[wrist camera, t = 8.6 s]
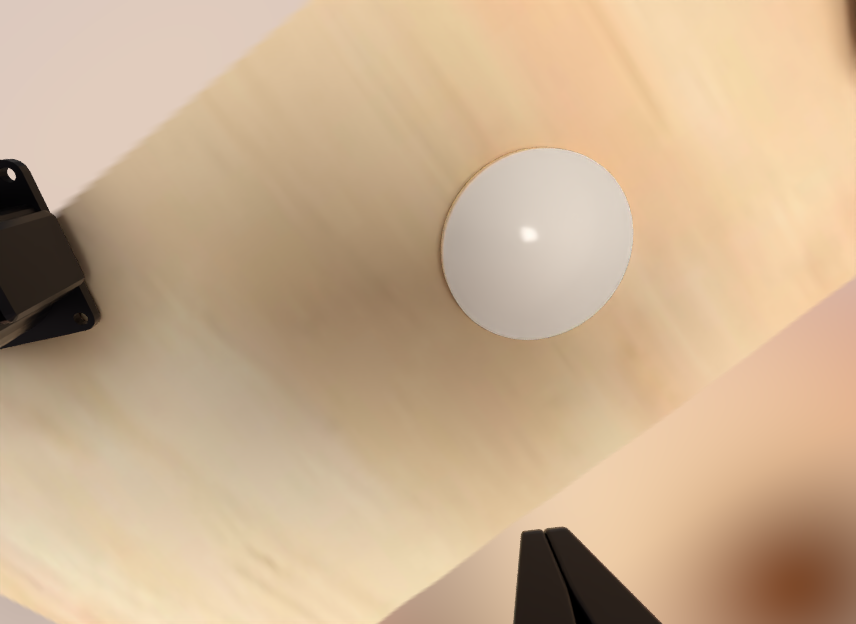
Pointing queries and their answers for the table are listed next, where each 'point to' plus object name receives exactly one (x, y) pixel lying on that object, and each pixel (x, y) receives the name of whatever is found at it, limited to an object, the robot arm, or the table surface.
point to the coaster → (536, 243)
